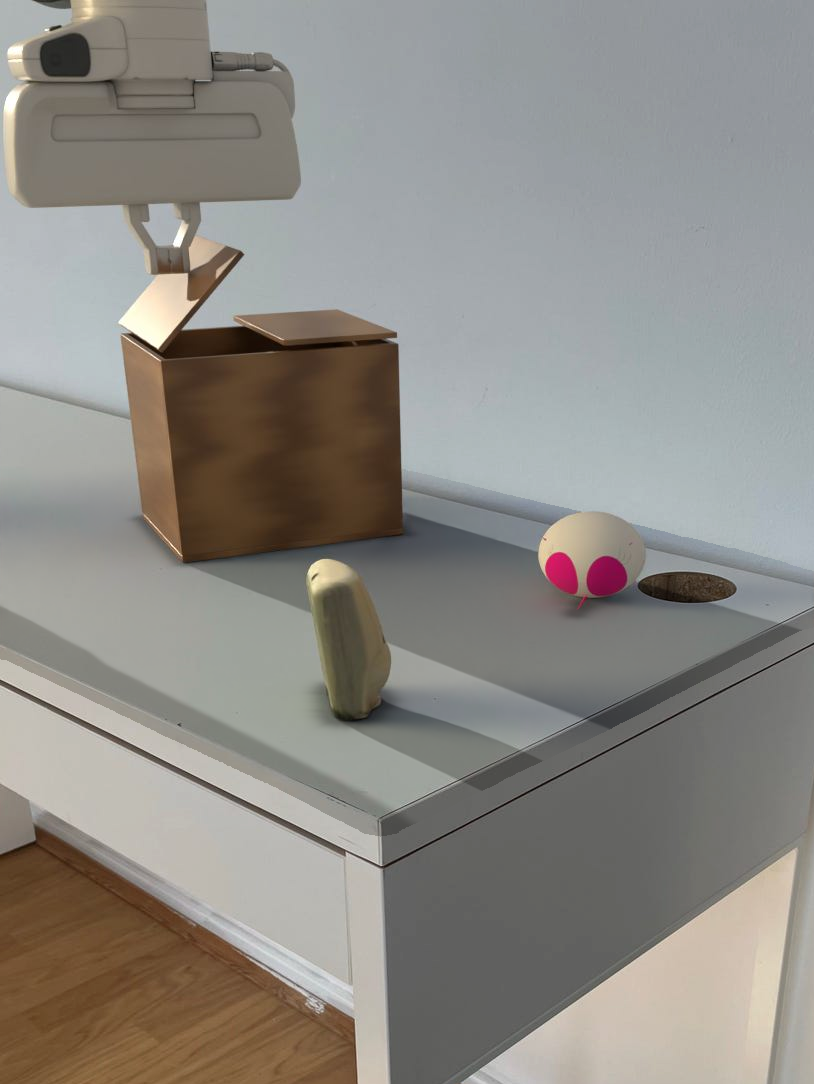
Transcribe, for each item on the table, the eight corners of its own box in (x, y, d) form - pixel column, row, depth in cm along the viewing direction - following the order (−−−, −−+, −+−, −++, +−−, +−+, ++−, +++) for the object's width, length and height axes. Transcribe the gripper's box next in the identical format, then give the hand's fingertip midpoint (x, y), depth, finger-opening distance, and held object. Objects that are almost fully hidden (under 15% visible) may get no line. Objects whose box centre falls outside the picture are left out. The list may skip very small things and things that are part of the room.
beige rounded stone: (279, 699, 78) (269, 566, 74) (347, 675, 81) (341, 547, 77) (341, 728, 74) (334, 591, 70) (410, 702, 77) (407, 569, 73)
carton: (182, 563, 100) (159, 348, 92) (142, 518, 110) (118, 322, 102) (403, 534, 106) (398, 332, 99) (346, 494, 117) (338, 309, 109)
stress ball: (533, 640, 95) (516, 582, 89) (557, 552, 98) (542, 490, 92) (636, 649, 93) (626, 590, 87) (658, 558, 96) (649, 496, 90)
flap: (162, 353, 92) (157, 348, 92) (121, 326, 102) (117, 322, 102) (244, 254, 92) (240, 250, 91) (196, 237, 102) (192, 233, 101)
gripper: (277, 53, 95) (291, 262, 102) (-18, 50, 88) (18, 276, 95) (306, 51, 90) (318, 270, 97) (-5, 48, 83) (33, 286, 90)
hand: (168, 273), depth 96 cm, fingers closed
